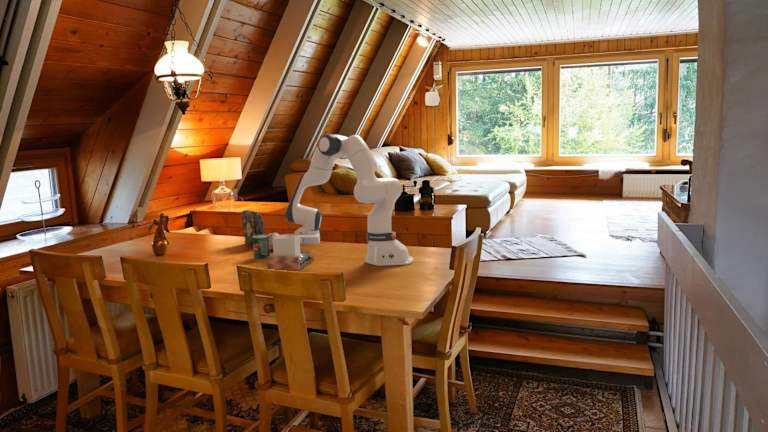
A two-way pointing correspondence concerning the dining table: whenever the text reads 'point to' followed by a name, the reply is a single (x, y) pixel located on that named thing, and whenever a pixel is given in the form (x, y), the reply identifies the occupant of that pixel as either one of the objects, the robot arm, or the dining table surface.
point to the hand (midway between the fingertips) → (294, 242)
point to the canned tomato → (261, 247)
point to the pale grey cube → (286, 245)
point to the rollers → (304, 257)
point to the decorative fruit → (272, 238)
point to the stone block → (252, 225)
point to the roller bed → (287, 263)
